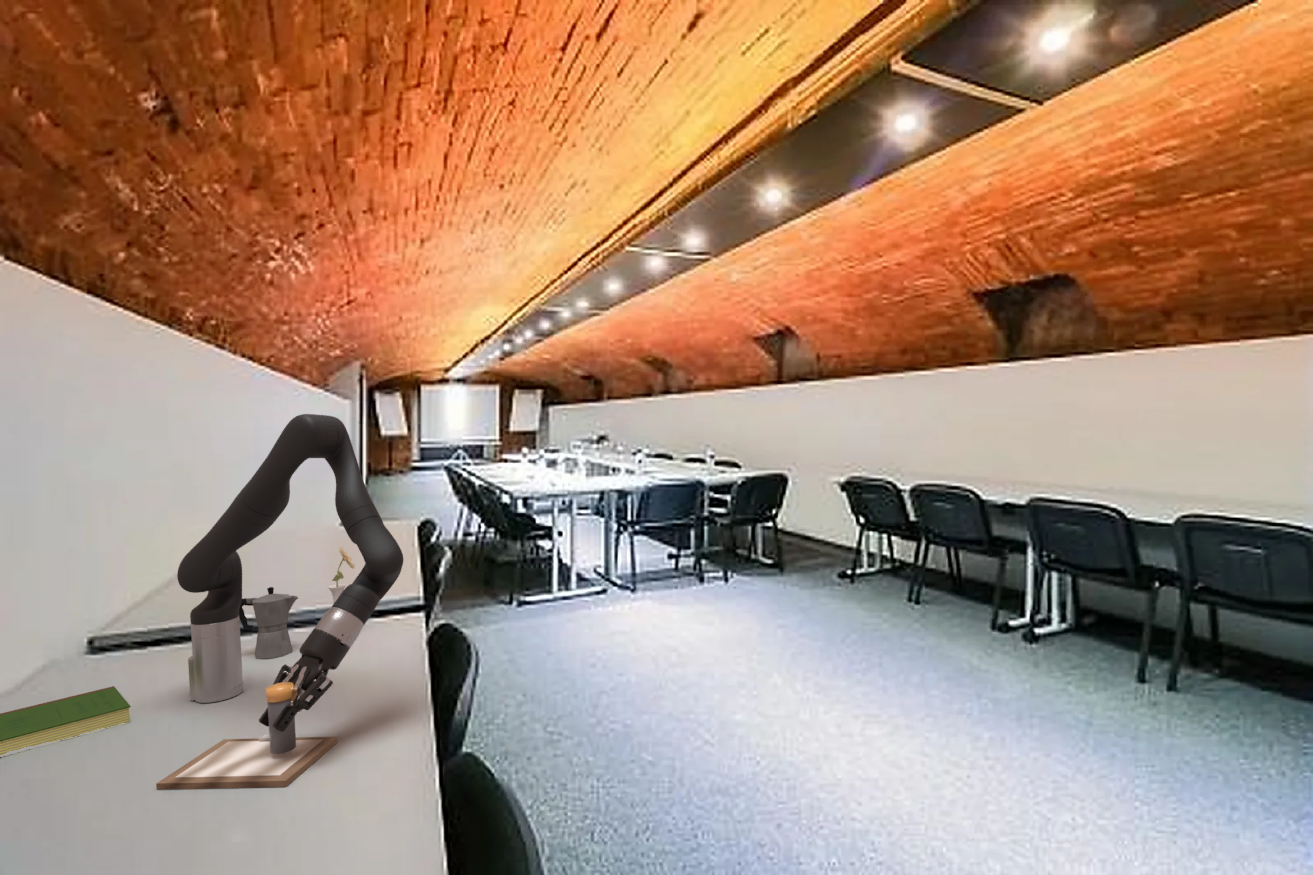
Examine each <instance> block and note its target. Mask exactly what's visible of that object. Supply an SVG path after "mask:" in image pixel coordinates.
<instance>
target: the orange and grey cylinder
mask: <svg viewBox="0 0 1313 875" xmlns="http://www.w3.org/2000/svg"><path fill="white" fill-rule="evenodd" d="M293 687H294V686H293V683H292V682H282V683H277V684H274V685H273V684H272V685H269V686H267V687H266V688H265V695H266V702H267V707H268V720H269V727H268V732H269V733H268V734H269V737H270V753H272V754H282V753H286V752H289V751H291V750H293V749H294V748H295V747H296V738H297V737H296V719H295V717H296V716H295V717H294V718H293V720H292V721H291V722H290V724H289V725H288V727H287V728H286V729H285V731H283V732H280V731H278V730H276V729H274V728H273V723H274V722H275V721H276V719H277V718H278V716H279V715H280V713H281V712H282V711H283V709H284V708H285V707H286V706H288V702H289V700H290V699H291V697H292V695H293V692H292V690H293Z"/></svg>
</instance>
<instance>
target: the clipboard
mask: <svg viewBox="0 0 1313 875" xmlns="http://www.w3.org/2000/svg"><path fill="white" fill-rule="evenodd" d="M338 742H339V736H312V737H311V736H309V737H307V736H306V737H304V736H303V737H301V736H300V737H298V736H297V737H296V747H295V748H294V749H293V750H291V751H289V752H286V753H282V754H272V753H270V737H269V733H268V734H265V733H264V734H263V735H261V736H260V737H259V738H225V739H222V740H221V741H219V742H218V743H216V744H215V745H213V746H211V747H210V748H208V749H207V750H205V751H204V752H202V753H201V754H199V755H197V756H196V757H194V758H193V759H191V760H190V761H189V762H187V763H184V765H182V766H181V767H179V768H177V769H175V771H173V772H172V773H170V774H168V775H167V776H166V777H164V778H163V779H161V780H159V781H158V782H156V785H155V787H156V790H159V791H161V790H198V789H200V790H202V789H207V790H208V789H210V790H211V789H251V788H252V789H253V788H287V787H288V786H289V785H290V784H291V783H293V782H294V781H295V780H296V779H297V778H298V777H300V776H301V775H302V774H303V773H305V771H306V770H308V769H309V768H310V767H311V766H312V765H314V763H316V762H317V761H318V760H319V759H320V758H322V757H323V756H324V755H325V754H326V753H327V752H328V751H329V750H330V749H332V748H333V747H334V746H335V745H336V744H337V743H338ZM332 746H333V747H332ZM331 747H332V748H331Z"/></svg>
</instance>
